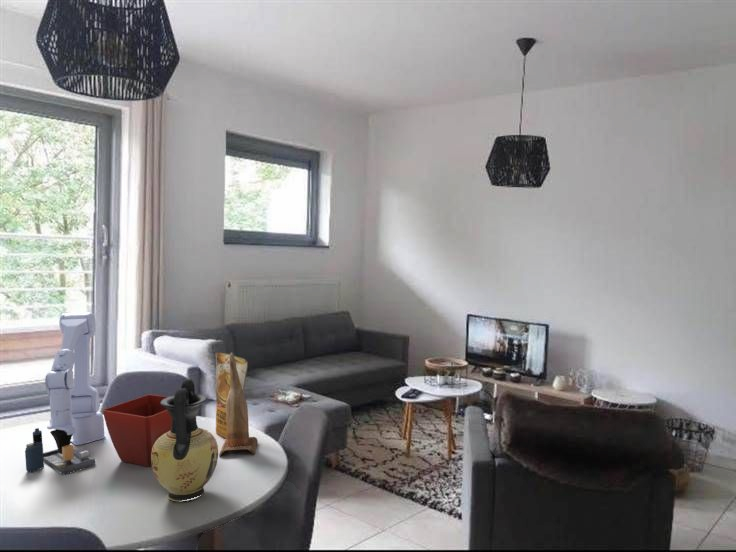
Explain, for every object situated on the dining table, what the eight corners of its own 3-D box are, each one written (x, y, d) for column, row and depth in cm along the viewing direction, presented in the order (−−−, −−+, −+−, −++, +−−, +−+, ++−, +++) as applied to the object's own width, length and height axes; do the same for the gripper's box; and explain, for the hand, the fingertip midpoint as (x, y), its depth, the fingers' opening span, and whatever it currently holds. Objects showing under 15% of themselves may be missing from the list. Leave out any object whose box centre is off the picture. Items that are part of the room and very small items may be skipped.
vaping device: (46, 466, 172) (43, 427, 171) (30, 473, 167) (28, 433, 166) (39, 465, 173) (37, 427, 172) (24, 472, 168) (21, 432, 167)
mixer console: (72, 451, 184) (71, 439, 184) (95, 465, 172) (94, 452, 172) (41, 459, 178) (40, 447, 177) (63, 474, 166) (63, 461, 165)
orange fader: (71, 459, 173) (71, 444, 173) (74, 461, 172) (73, 445, 172) (62, 462, 172) (61, 446, 171) (65, 464, 170) (64, 448, 170)
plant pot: (196, 450, 182) (193, 399, 181) (150, 473, 165) (147, 417, 164) (151, 442, 190) (149, 393, 189) (104, 464, 173) (100, 410, 172)
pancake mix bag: (226, 426, 205) (223, 350, 203) (252, 439, 191) (249, 357, 189) (209, 430, 201) (205, 353, 199) (234, 444, 186) (231, 361, 185)
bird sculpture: (257, 443, 188) (253, 347, 187) (255, 455, 177) (251, 353, 176) (223, 446, 187) (218, 350, 186) (219, 458, 175) (214, 356, 174)
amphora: (220, 504, 144) (216, 389, 142) (150, 515, 140) (144, 395, 138) (218, 477, 161) (214, 373, 159) (155, 485, 157) (150, 379, 154)
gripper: (38, 408, 175) (40, 450, 176) (56, 417, 165) (58, 462, 166) (62, 402, 180) (65, 444, 181) (81, 411, 171) (83, 455, 172)
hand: (63, 452), depth 174 cm, fingers closed
